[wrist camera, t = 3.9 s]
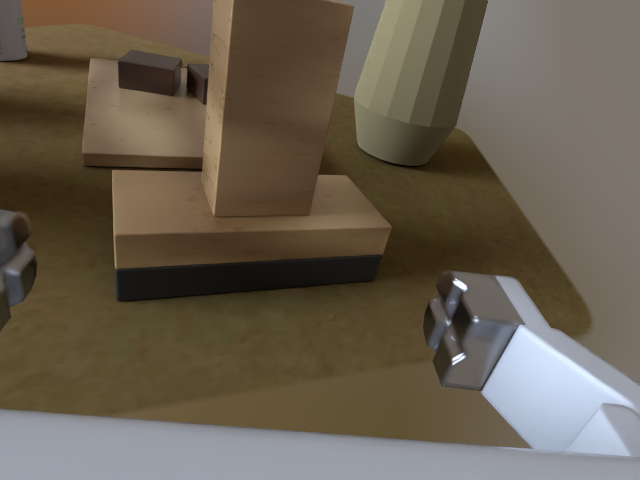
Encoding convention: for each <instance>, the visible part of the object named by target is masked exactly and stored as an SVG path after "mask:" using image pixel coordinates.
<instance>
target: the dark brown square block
mask: <svg viewBox="0 0 640 480" xmlns="http://www.w3.org/2000/svg"><path fill="white" fill-rule="evenodd" d="M208 77H209V65H203V64H189V63H188V64H187V85H186V88H187V89H188V90H189V91H190V92H191V93H192V94H193V95H194V96H195V97H196V98H197V99H198V100H199V101H200V102H201V103H202V104H203V105H207V92H208Z"/></svg>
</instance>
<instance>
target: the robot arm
mask: <svg viewBox="0 0 640 480" xmlns="http://www.w3.org/2000/svg"><path fill="white" fill-rule="evenodd" d="M31 234H32V229H31V224H30V219H29V217H28V216H27V215H26V214H25V213H24V212H20V211H14V210H7V209H1V208H0V331H1V330H2V328H3V327H4V326H5V324H6V323H7V322H8V321H9V319H10V318H11V314H10V309H9V307H11V306H13V305H15V304H17V303H20V302H22V301H24V299H25V298H26V296H27V295H28V294H29V292H30V291H31V289H32V286H33V283H34V280H35V277H36V269H37V261H36V254H35V252H34V251H33V250H32V249H31V248H30V247H29V246H28V244H27V243H26V242H25V241H26V240H27V239H28V238H29V236H30V235H31ZM436 287H437V289H438V292H439V295H438V296H436V297H435V298H434V299H432V300H431V301H429V303H428V306H427V309H426V311H425V315H424V324H423V329H424V336H425V339H426V342H427V345H428V346H429V347H430V348H431V349H433V350H434V351H435V352H436V355H435V357H434V359H433V363H434V366H435V369H436V371H437V374H438V377H439V380H440V383H441V386H444V387H452V388H460V389H469V390H476V391H481V394H482V395H483V396H484V397H485V398H486V399H487V400H488V401H489V402H490V404H491V405H492V406H493V407H494V408H495V409H496V410H497V411H498V412H499V413H500V414H501V415H502V416H503V418H504V419H505V420H506V421H507V422H508V423H509V424H510V425H511V426H512V427H513V428H514V429H515V431H516V432H517V433H518V434H519V435H520V436H521V437H522V438H523V439H524V440H525V441H526V442H527V444H529V446H530V447H531V448H532V449H525V448H511V447H498V446H484V445H470V444H456V443H443V442H430V441H417V440H405V439H392V438H379V437H366V436H353V435H341V434H328V433H315V432H302V431H289V430H276V429H262V428H249V427H235V426H222V425H209V424H194V423H182V422H169V421H155V420H141V419H128V418H115V417H102V416H89V415H76V414H62V413H49V412H36V411H23V410H9V409H0V480H640V384H639V383H638V382H636V381H635V380H633V379H632V378H630V377H629V376H627V375H626V374H624V373H623V372H621V371H620V370H618V369H617V368H615V367H614V366H612V365H611V364H609V363H608V362H606V361H605V360H603V359H602V358H600V357H599V356H597V355H596V354H594V353H593V352H591V351H590V350H588V349H587V348H585V347H584V346H582V345H581V344H579V343H578V342H576V341H575V340H573V339H572V338H570V337H569V336H567V335H566V334H564V333H563V332H561V331H560V330H558V329H552V328H551V327H550V326H549V325H548V323H547V322H546V320H545V319H544V317H543V316H542V314H541V313H540V311H539V310H538V309H537V307H536V306H535V304H534V303H533V301H532V300H531V298H530V297H529V296H528V294H527V293H526V291H525V290H524V288H523V287H522V285H521V284H520V282H519V281H518V280H517V279H515V278H513V277H507V276H497V275H485V274H476V273H467V272H458V271H450V270H445V271H444V272H443V273H442V274H441V275H440V277H439V280H438V282H437V284H436Z"/></svg>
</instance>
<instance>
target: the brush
mask: <svg viewBox="0 0 640 480" xmlns="http://www.w3.org/2000/svg"><path fill="white" fill-rule="evenodd" d="M353 9H354V6H353V5H351V4H348V3H346V2H344V1H341V0H214V5H213V20H212V35H211V48H210V49H211V50H210V63H209V77H208V92H207V106H206V121H205V135H204V150H203V164H202V172H181V171H139V170H112V195H113V234H114V257H115V279H116V299H117V301H128V300H141V299H153V298H165V297H178V296H190V295H202V294H215V293H227V292H239V291H252V290H264V289H276V288H289V287H301V286H313V285H325V284H338V283H350V282H362V281H373V280H375V277H376V274H377V271H378V268H379V265H380V261H381V258H382V254H383V253H384V250H385V247H386V244H387V241H388V237H389V234H390V231H391V228H392V226H391V225H390V224H389V223H388V222H387V221H386V220H385V218H384V217H383V216H382V215H381V214H380V213H379V212H378V210H377V209H376V208H375V207H374V206H373V205H372V204H371V203H370V201H369V200H368V199H367V198H366V197H365V196H364V195H363V193H362V192H361V191H360V190H359V189H358V188H357V187H356V186H355V184H354V183H353V182H352V181H351V180H350V179H349V178H348V177H347V176H346V175H318V173H319V169H320V164H321V159H322V155H323V150H324V145H325V141H326V136H327V131H328V127H329V122H330V117H331V113H332V108H333V103H334V99H335V94H336V89H337V85H338V80H339V75H340V71H341V66H342V61H343V57H344V52H345V47H346V43H347V38H348V33H349V28H350V24H351V19H352V14H353Z"/></svg>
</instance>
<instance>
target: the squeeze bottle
mask: <svg viewBox="0 0 640 480" xmlns="http://www.w3.org/2000/svg"><path fill="white" fill-rule="evenodd" d="M487 3H488V1H487V0H386V3H385V6H384V9H383V12H382V15H381V18H380V21H379V23H378V26H377V29H376V32H375V35H374V38H373V41H372V44H371V47H370V50H369V53H368V56H367V59H366V62H365V65H364V67H363V71H362V74H361V76H360V79H359V82H358V85H357V88H356V91H355V94H354V105H355V119H356V133H357V143H358V145H359V147H360V148H361V149H363V150H364V151H365V152H366V153H368V154H370V155H372V156H374V157H376V158H379V159H381V160H385V161H388V162H391V163H395V164H401V165H407V166H418V165H423V164H425V163H428V161H429V160H430V159H431V157H432V156H433V155H434V153H435V152H436V151H437V150H438V148H439V147H440V146H441V144H442V143H443V142H444V140H445V139H446V138H447V136H448V135H449V134H450V132H451V131H452V130H453V129H454V127H455V126H456V123H457V119H458V116H459V112H460V108H461V104H462V100H463V96H464V93H465V89H466V85H467V81H468V77H469V73H470V69H471V65H472V61H473V58H474V54H475V50H476V45H477V42H478V38H479V34H480V30H481V26H482V23H483V19H484V15H485V11H486V6H487Z"/></svg>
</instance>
